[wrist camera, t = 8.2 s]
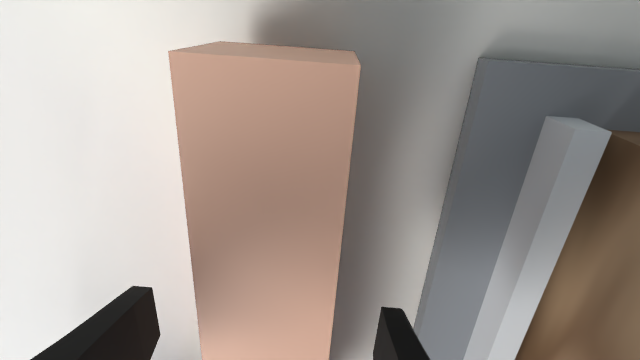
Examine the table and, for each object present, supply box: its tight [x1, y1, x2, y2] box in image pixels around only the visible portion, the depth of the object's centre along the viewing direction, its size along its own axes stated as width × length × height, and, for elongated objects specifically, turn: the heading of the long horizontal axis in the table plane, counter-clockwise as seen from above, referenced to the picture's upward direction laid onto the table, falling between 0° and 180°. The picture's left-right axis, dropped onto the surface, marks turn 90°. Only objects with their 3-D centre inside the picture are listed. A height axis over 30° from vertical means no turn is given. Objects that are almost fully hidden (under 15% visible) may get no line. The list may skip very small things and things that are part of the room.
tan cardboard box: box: [515, 130, 640, 360], centre depth 12 cm, size 14×4×5 cm, turn 176°
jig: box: [413, 58, 640, 360], centre depth 14 cm, size 18×12×2 cm, turn 176°
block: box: [168, 41, 361, 360], centre depth 13 cm, size 16×4×4 cm, turn 176°
